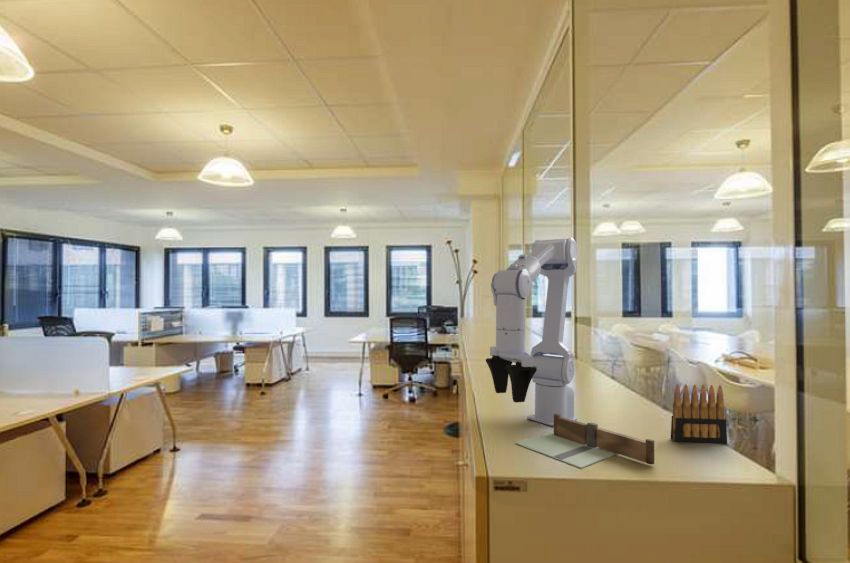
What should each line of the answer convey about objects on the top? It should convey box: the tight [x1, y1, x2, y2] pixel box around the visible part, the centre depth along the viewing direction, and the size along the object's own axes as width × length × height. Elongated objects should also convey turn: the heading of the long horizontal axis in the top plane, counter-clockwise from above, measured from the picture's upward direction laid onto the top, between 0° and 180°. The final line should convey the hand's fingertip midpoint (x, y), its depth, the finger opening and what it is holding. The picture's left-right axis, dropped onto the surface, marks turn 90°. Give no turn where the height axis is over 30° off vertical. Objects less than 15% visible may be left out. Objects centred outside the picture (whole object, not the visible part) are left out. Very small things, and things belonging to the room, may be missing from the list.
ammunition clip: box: [670, 383, 728, 445], centre depth 90 cm, size 11×2×12 cm, turn 88°
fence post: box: [553, 414, 599, 448], centre depth 89 cm, size 2×10×4 cm, turn 37°
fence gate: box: [596, 427, 655, 465], centre depth 80 cm, size 11×1×4 cm, turn 37°
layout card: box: [514, 430, 618, 469], centre depth 85 cm, size 16×15×1 cm
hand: (509, 397), depth 86 cm, fingers open, 7 cm apart
